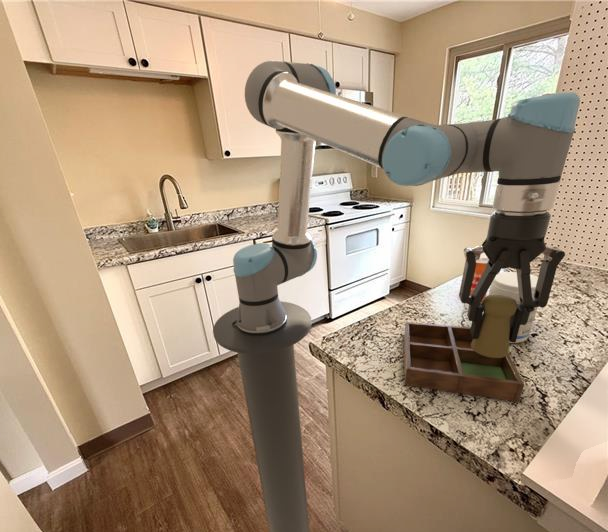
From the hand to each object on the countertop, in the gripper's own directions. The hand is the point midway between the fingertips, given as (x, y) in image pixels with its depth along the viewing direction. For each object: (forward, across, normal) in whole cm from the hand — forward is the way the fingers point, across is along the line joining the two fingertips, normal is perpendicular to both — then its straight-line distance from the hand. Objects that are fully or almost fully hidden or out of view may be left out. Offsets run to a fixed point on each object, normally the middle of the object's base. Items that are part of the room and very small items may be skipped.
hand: (491, 336), depth 58 cm
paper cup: (+11, +5, +40) cm, 41 cm away
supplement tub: (+11, +8, +20) cm, 24 cm away
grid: (+10, -5, +5) cm, 12 cm away
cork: (+3, 0, 0) cm, 3 cm away
